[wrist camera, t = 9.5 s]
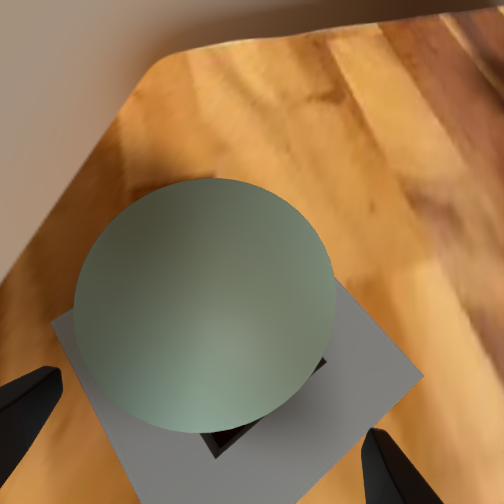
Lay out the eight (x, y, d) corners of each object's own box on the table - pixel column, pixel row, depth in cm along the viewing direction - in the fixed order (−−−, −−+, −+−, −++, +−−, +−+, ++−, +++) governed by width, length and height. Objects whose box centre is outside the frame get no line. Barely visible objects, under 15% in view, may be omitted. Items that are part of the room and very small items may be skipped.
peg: (245, 417, 16) (243, 506, 4) (177, 367, 17) (14, 322, 5) (289, 341, 18) (378, 250, 6) (224, 299, 19) (184, 144, 7)
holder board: (201, 568, 14) (192, 605, 11) (75, 330, 18) (49, 322, 15) (399, 377, 17) (423, 376, 15) (255, 212, 21) (256, 190, 19)
